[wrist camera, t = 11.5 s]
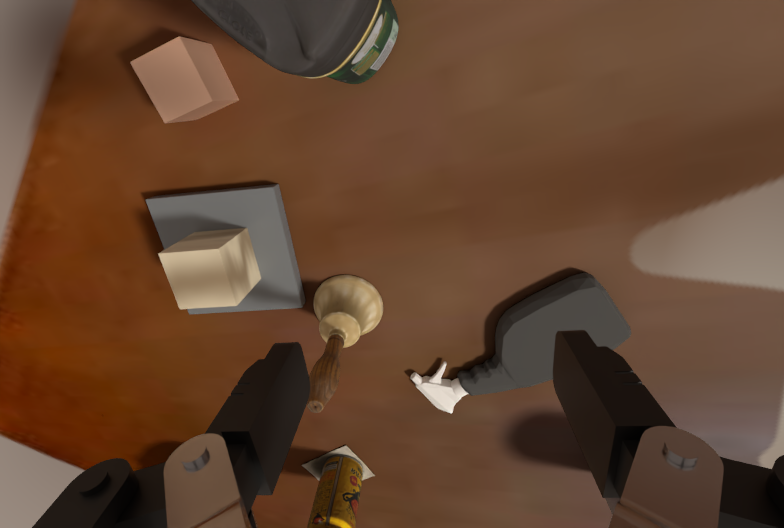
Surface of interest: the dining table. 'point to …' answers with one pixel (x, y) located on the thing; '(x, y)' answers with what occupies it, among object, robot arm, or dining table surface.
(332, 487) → the condiment
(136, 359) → the dining table surface
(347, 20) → the coffee jar
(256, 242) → the slate tile
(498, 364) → the spray bottle
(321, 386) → the hand bell
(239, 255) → the birch cube
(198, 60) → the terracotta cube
